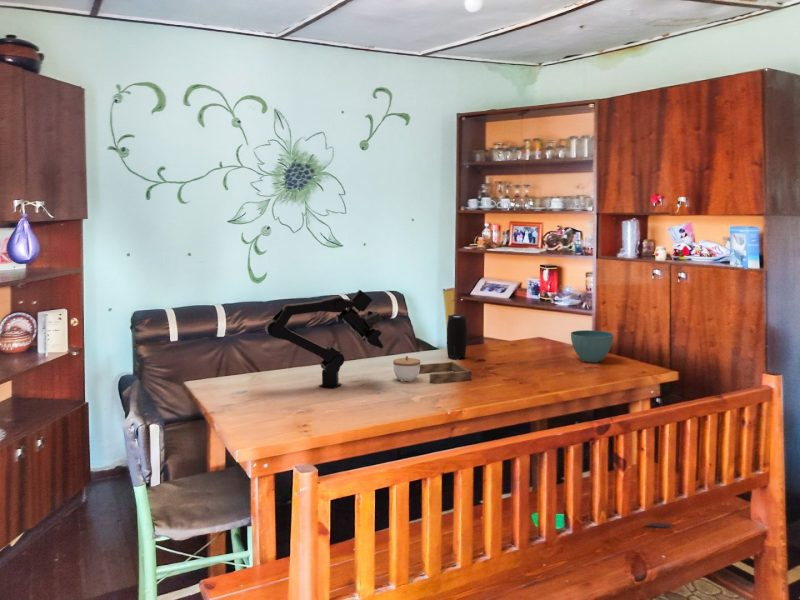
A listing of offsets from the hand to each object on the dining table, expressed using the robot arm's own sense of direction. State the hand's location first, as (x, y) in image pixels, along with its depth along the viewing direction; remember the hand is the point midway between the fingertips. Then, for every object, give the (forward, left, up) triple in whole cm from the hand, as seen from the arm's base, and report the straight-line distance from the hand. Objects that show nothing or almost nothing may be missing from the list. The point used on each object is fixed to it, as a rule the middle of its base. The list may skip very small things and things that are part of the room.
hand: (382, 347), depth 278 cm
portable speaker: (+54, -7, -14) cm, 57 cm away
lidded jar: (+7, -7, -14) cm, 17 cm away
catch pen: (+18, -16, -14) cm, 28 cm away
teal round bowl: (+78, -62, -14) cm, 100 cm away
